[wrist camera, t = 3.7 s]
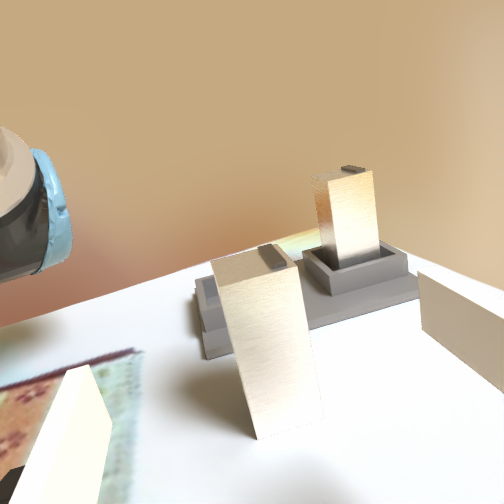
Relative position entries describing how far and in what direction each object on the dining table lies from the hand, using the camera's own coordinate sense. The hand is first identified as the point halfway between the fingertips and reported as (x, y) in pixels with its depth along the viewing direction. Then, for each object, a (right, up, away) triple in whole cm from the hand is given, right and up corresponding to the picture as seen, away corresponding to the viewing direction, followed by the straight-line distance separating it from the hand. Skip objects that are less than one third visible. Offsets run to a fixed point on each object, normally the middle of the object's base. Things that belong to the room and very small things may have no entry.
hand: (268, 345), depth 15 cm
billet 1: (+2, -8, +15) cm, 17 cm away
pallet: (+5, -1, +32) cm, 32 cm away
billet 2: (+12, +1, +32) cm, 34 cm away
